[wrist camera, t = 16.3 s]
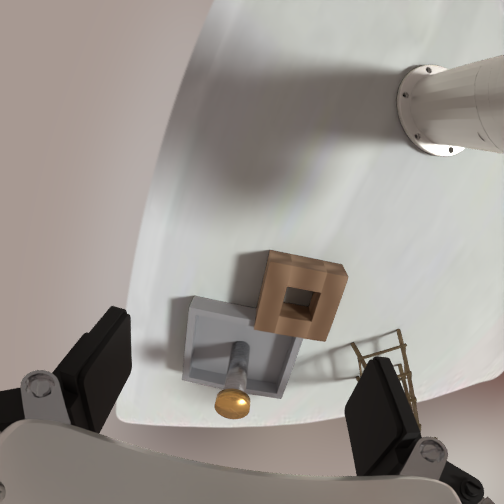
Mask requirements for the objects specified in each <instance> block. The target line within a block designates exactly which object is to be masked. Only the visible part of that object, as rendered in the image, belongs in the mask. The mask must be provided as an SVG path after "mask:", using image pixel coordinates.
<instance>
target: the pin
mask: <svg viewBox="0 0 504 504" xmlns="http://www.w3.org/2000/svg"><path fill="white" fill-rule="evenodd" d="M249 355H250V346H249V344H248V343H246V342H244V341H236V342H234V343H233V344H232V347H231V353H230V358H229V364H228V369H227V374H226V380H225V385H224V390H222V391H220V392H219V393H218V394H217V397H216V402H215V410H216V411H217V413H218V414H220V415H221V416H223V417H225V418H229V419H240V418H243V417H245V416H246V415H247V414H248V413H249V410H250V398H249V396H248V395H247V394H246V383H247V374H248V364H249Z"/></svg>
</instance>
